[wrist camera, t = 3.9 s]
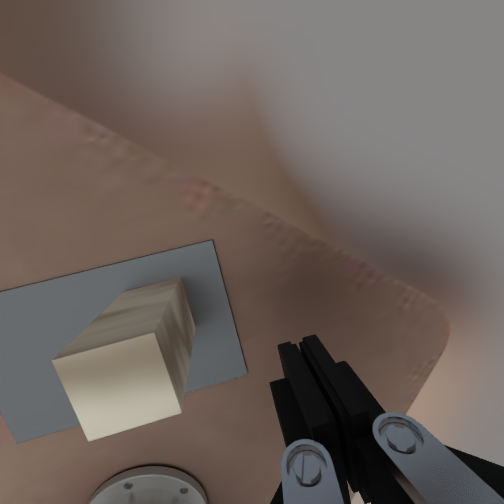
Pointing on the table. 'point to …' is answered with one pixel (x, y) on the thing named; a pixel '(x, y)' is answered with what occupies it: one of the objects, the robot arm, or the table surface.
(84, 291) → the rubber mat
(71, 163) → the table surface
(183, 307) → the birch block
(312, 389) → the robot arm
